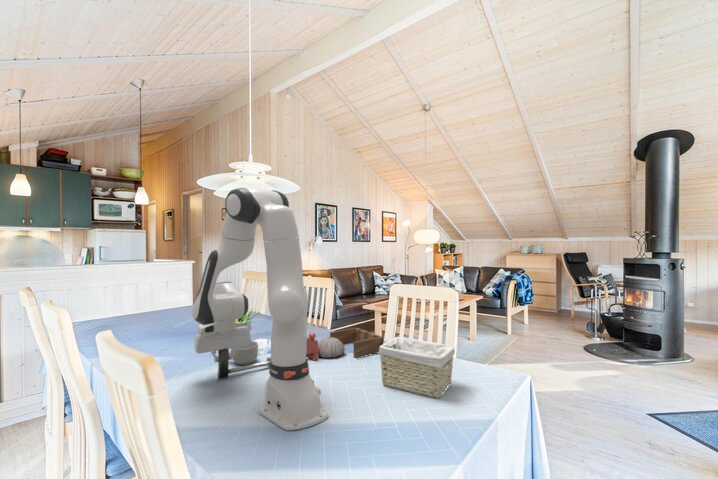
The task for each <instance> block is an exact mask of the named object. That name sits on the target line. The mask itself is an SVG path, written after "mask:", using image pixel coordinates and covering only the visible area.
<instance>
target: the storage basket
mask: <svg viewBox="0 0 718 479" xmlns="http://www.w3.org/2000/svg"><path fill="white" fill-rule="evenodd" d="M455 352H456V351H455V347H454V346H450V345H448V344H443V343H438V342H434V341H433V342H432V341H427V340H421V339H416V338H411V337H402V336H396V337H393V338H391V339H389V340H388V341H385V343H384V342H383V345H381V346H380V348H379V353H378V354H379V355H380V356H379V358H380V367H381V368H380V370H381V380H382V382H381V383H382V385H384V386H387V387H391V388H396V389H398V388H399V390H402V389H404V390H403V391H407V392H410V391H411V392H410V393H413V392H414V393H413V394H416V393H419V394H418V395H421V394H423V395H422V396H426V395H427V396H426V397H429V396H431V397H430V398H433V397H436V398H435V399H440V398H441V397H442V396H443V395H442V393H443V392H444V391H445V389H446V388H447V386H449V384H450V385H451V384H452V374H453V368H454V366H453V360H454V355H455ZM441 395H442V396H441ZM440 396H441V397H440ZM439 397H440V398H439Z"/></svg>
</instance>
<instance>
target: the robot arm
mask: <svg viewBox="0 0 718 479" xmlns="http://www.w3.org/2000/svg"><path fill="white" fill-rule="evenodd" d="M225 197H226V198H225V202H224V204H225V205H224V206H225V211H226V212H225V216H224V220H223V224H222V229H221V230H222V231H221V238H220V241H219V244H218V246H216V248H215V249H214V250H212V251H211V252H210V253H209V255H208V258H207V261H206V264H205V267H204V270H203V273H202V276H201V281H200V284H199V287H198V288H199V289H198V292H197V294H196V298H195V300H194V302H193V305H192V317H193V320H194V321H196V323H198V324H199V325H198V326H197V330H198V332H196V334H195V336H194V337H195V339H194V346H193V350H194V352H195V353H196V354H197V355H198V354H204V353H205V354H206V353H209V352H210V354H211V355H212V356H213V362H214V363H218V362H219V357H218V355H217V356H216V354H217V351H218V350H223V349H224V348H226V349H229V350H231V351H230V352H229V353H230V354H229V361H230V360H233V354H234V352H235V351H236V347H240V346H246V345H249V344H250V343H251V341H252V338H251V336H252V335H251V329H252V324H251V323H250V322H248V321H247V320H244V321H237V320H239V319H240V320H241V319H242V318H243V319H244V317H245V316H246V315H247V313H248V311H249V298H248V297H247V296H246V295H245V294H243V293H242V292H240V291H238V290H237V289H236V284H235V282H233V281H223V282H222V281H221V282H217V281H218V277H219V275H220V274H221V273H222V272H223V271H224V270H225V269H228V268H229V267H231V266H234V265H237V264H240V263H241V262H243V261H245V260H246V259H248V258H249V257H250V256H251V255H252V253H253V252H254V248H255V242H256V230H257V226H258V225H259V226H260V228H261V230H262V238H263V239H262V240H263V241H262V242H263V247H264V256H265V257H264V258H265V262H266V264H265V265H266V288H267V289H266V290H267V304H268V305H267V306H268V308H267V309H268V310H269V314H270V316H271V317H272V327H271V336H270V357H271V361H270V365H269V367H268V373H269V376H268V379H267V381H266V383H265V384H264V394H263V395H264V396H263V406H261V407H260V408H259V411H258V413H259V414H260V415H261V416H263V418H266V419H267V420H269V421H270V422H272V423H273V424H275V425H277V426H279V427H280V428H281V429H283V430H284V431H296V430H297V431H298V430H301V429H305V428H309V427H311V426H314V425H317V424H319V423H322V422H323V421H326V419H328V417H329V412H328V411H327V409H326V408H325V407H324V405H323V404H322V403H321V398H320V396H321V394H322V390H321V388H320V387H316V385H315V381H314V379H312V377H311V375H310V367H309V363H308V361H309V360H308V359H307V357H306V341H307V330H308V329H307V328H308V327H307V326H308V325H307V324H308V291H307V289H306V287H305V285H304V274H303V261H302V252H301V246H300V245H301V244H300V238H299V237H300V236H299V230H298V226H297V221H296V218H295V215H294V213H293V212H294V211H293V210H292V209H291V208H290V203H289V199H288V198H287V196H286V195H285V194H284V192H283V193H282V192H281V191H278V190H272V189H265V188H260V187H259V188H258V187H249V188H247V187H239V188H235V189H232V190H230V191H229V192H228V194H227V195H226V196H225Z"/></svg>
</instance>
